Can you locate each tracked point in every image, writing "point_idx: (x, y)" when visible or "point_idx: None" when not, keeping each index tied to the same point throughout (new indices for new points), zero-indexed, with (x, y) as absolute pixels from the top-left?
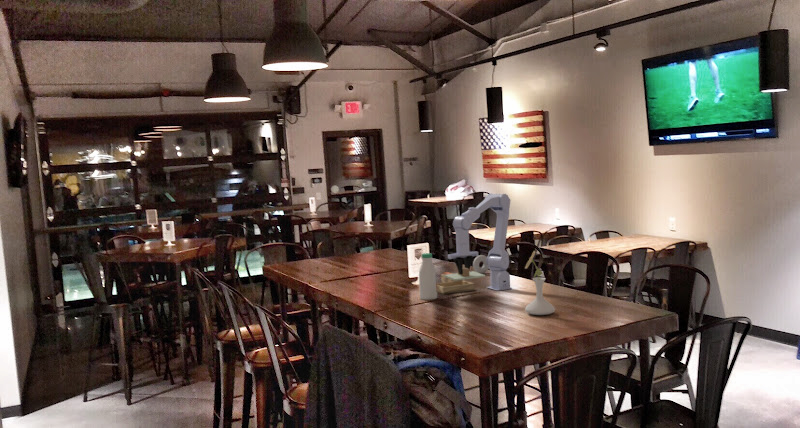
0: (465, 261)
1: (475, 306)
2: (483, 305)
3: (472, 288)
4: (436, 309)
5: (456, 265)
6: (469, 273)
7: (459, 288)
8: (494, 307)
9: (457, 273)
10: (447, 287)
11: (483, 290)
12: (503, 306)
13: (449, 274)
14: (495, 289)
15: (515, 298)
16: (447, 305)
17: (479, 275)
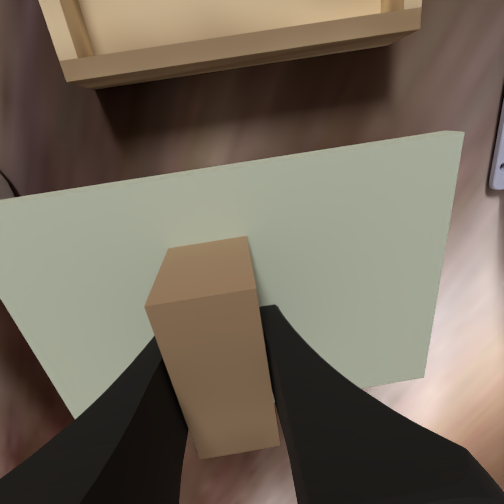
0: (296, 475)
1: (191, 459)
2: (230, 454)
3: (377, 43)
4: (2, 457)
5: (87, 409)
6: (330, 257)
7: (247, 61)
8: (255, 488)
9: (180, 199)
10: (113, 76)
11: (430, 109)
12: (293, 485)
13: (45, 221)
14: (495, 163)
15: (422, 393)
16: (67, 410)
17: (369, 372)
